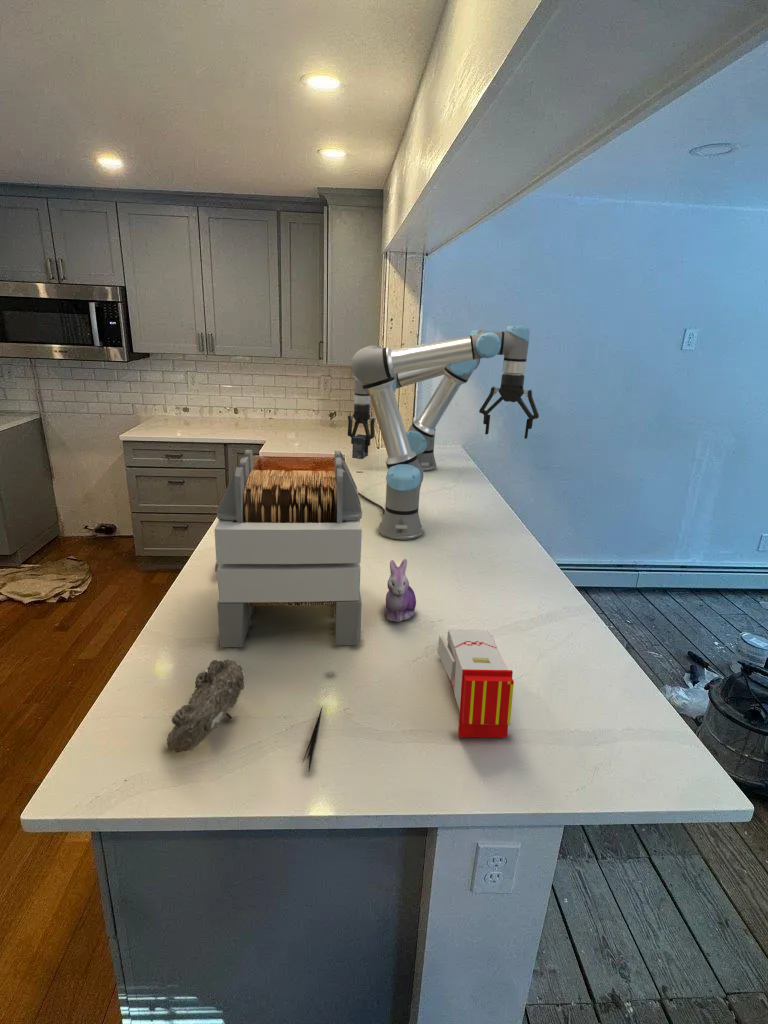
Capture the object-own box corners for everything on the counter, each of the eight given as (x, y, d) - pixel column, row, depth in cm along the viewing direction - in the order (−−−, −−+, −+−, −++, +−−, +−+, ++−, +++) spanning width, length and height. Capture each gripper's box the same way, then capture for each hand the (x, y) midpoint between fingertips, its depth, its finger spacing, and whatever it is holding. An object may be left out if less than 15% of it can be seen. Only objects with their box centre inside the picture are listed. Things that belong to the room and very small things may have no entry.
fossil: (192, 660, 117) (244, 628, 112) (224, 691, 120) (276, 661, 115) (142, 746, 98) (202, 712, 93) (182, 779, 101) (242, 748, 96)
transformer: (237, 581, 160) (230, 440, 146) (353, 580, 164) (356, 442, 150) (217, 649, 129) (206, 477, 115) (361, 646, 132) (366, 479, 119)
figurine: (392, 627, 141) (395, 572, 136) (374, 608, 149) (376, 556, 144) (425, 619, 145) (429, 566, 140) (405, 601, 154) (408, 550, 149)
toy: (488, 613, 130) (523, 677, 101) (484, 667, 133) (517, 744, 104) (435, 612, 130) (455, 676, 101) (432, 666, 133) (451, 743, 103)
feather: (331, 679, 122) (336, 673, 122) (307, 777, 96) (313, 769, 95) (324, 675, 122) (329, 669, 121) (298, 772, 95) (304, 764, 95)
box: (362, 459, 274) (363, 438, 270) (351, 458, 276) (352, 436, 272) (368, 456, 281) (369, 434, 277) (357, 454, 283) (358, 433, 279)
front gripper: (552, 375, 191) (543, 437, 198) (478, 370, 198) (472, 430, 206) (550, 377, 184) (541, 441, 191) (474, 372, 192) (468, 433, 199)
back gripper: (383, 404, 270) (380, 452, 278) (346, 401, 275) (345, 447, 283) (378, 407, 264) (375, 455, 271) (340, 403, 269) (339, 450, 276)
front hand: (506, 435), depth 199 cm, fingers open, 13 cm apart
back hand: (360, 451), depth 277 cm, fingers closed on box, 6 cm apart
